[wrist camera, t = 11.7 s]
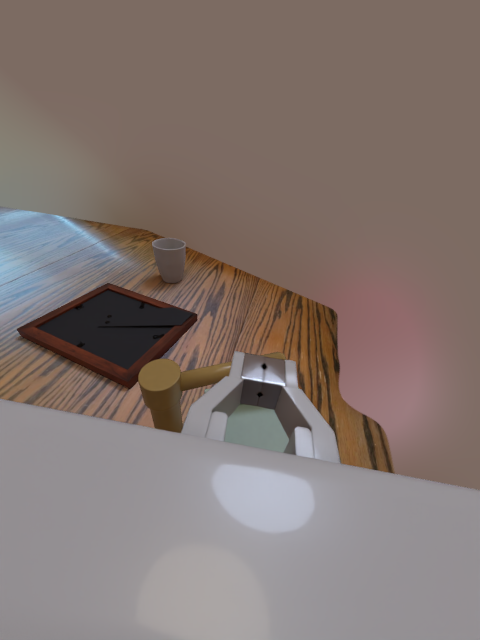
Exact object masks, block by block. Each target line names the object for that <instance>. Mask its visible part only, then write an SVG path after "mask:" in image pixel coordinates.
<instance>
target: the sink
mask: <svg viewBox="0 0 480 640" xmlns="http://www.w3.org/2000/svg"><path fill="white" fill-rule="evenodd" d="M298 389H299V388H298ZM209 390H210V389H205V393H206V392H207V391H209ZM225 442H229V443H234V444H240V445H245V446H250V447H255V448H261V449H266V450H271V451H277V452H282V453H283V452H284V450H285V448H286V446H287V444H288V442H289V438H288V436H287V434H286V432H285V431H284V429H283V427H282V425H281V423H280V421H279V419H278V417H277V415H276V413H275V411H274V410H273V409H268V408H263V407H258V406H252V405H246V404H240V405H239V406H238V407H237V408H236V409H235V411H234V412H233V413H232V414H231V415H230V416H229V418H228V419H227V427H226V435H225Z"/></svg>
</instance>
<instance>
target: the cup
mask: <svg viewBox="0 0 480 640" xmlns="http://www.w3.org/2000/svg"><path fill="white" fill-rule="evenodd" d="M152 245H153V250H154V255H155V260H156V263H157V266H158V270H159V272H160V274H161V277H162V279H163V280H164V281H165V282H167V283H177V282H179V281H181V279H182V275H183V272H184V265H185V242H183V241H182V240H179V239H174V238H162V239H158V240H155V241H154V242H153V243H152Z"/></svg>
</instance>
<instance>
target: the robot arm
mask: <svg viewBox="0 0 480 640" xmlns="http://www.w3.org/2000/svg"><path fill="white" fill-rule="evenodd" d="M244 355H245V356H244ZM240 404H246V405H252V406H258V407H263V408H268V409H273V410H274V411H275V413H276V415H277V417H278V419H279V421H280V423H281V425H282V427H283V429H284V431H285V432H286V434H287V436H288V438H289V442H288V444H287V446H286V448H285V450H284V452H283V453H282V452H277V451H271V450H266V449H261V448H255V447H250V446H245V445H240V444H234V443H229V442H225V435H226V427H227V419H228V418H229V416H230V415H231V414H232V413H233V412H234V411H235V409H236V408H237V407H238V406H239V405H240ZM0 640H480V490H477V489H471V488H466V487H461V486H455V485H449V484H445V483H439V482H434V481H429V480H424V479H418V478H413V477H408V476H403V475H398V474H392V473H387V472H382V471H377V470H371V469H366V468H361V467H356V466H350V465H345V464H341V463H340V458H339V453H338V448H337V443H336V438H335V433H334V431H333V430H332V429H331V427H330V426H329V425H328V423H327V422H326V421H325V420H324V418H323V417H322V416H321V414H320V413H319V412H318V411H317V409H316V408H315V407H314V405H313V404H312V403H311V401H310V400H309V399H308V398H307V396H306V395H305V394H304V392H303V391H302V390H301V389H298V382H297V371H296V362H295V361H290V360H283V359H277V358H271V357H265V356H259V355H254V354H248V353H242V352H237V351H235V352H234V355H233V360H232V364H231V369H230V373H229V377H228V376H225V377H224V378H223V379H222V380H221V381H219V382H218V383H217V384H216V385H215V386H213V387H212V388H211V389H210V390H209V391H207V392H206V393H205V394H204V395H203V396H201V397H200V398H199V399H198V400H197V401H196V402H194V403H193V404H192V405H191V406H190V409H189V412H188V414H187V417H186V420H185V423H184V426H183V428H182V431H181V433H176V432H171V431H166V430H161V429H155V428H150V427H145V426H140V425H134V424H129V423H124V422H119V421H113V420H108V419H103V418H98V417H93V416H87V415H82V414H77V413H72V412H66V411H61V410H56V409H51V408H45V407H40V406H35V405H30V404H24V403H19V402H14V401H9V400H3V399H0Z"/></svg>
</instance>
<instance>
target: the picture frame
mask: <svg viewBox="0 0 480 640" xmlns="http://www.w3.org/2000/svg"><path fill="white" fill-rule="evenodd" d="M196 321H197V314H196V313H193V312H190V311H187V310H184V309H181V308H178V307H176V306H173V305H170V304H167V303H164V302H161V301H158V300H156V299H153V298H150V297H147V296H144V295H141V294H138V293H136V292H133V291H130V290H127V289H124V288H121V287H118V286H116V285H113V284H110V283H107V284H105V285H103V286H101V287H99V288H97V289H95V290H93V291H91V292H89V293H87V294H85V295H83V296H81V297H79V298H77V299H75V300H73V301H71V302H69V303H67V304H65V305H63V306H61V307H59V308H58V309H56V310H54V311H52V312H50V313H48V314H46V315H44V316H42V317H40V318H38V319H36V320H34V321H32V322H30V323H28V324H26V325H24V326H22V327H20V328H18V329H17V331H18V332H19V334H20V335H21V336H22V337H24V338H26V339H28V340H30V341H32V342H34V343H36V344H38V345H40V346H42V347H45V348H47V349H49V350H51V351H53V352H55V353H57V354H59V355H61V356H63V357H65V358H67V359H69V360H71V361H74V362H76V363H78V364H80V365H82V366H84V367H86V368H88V369H90V370H92V371H94V372H96V373H98V374H100V375H103V376H105V377H107V378H109V379H111V380H113V381H115V382H117V383H119V384H121V385H123V386H125V387H127V388H129V389H130V388H131V387H132V386H133V385H134V384H135V383H136V382H137V381H138V375H139V372H140V371H141V369H142V368H143V367H144V366H145V365H146V364H147V363H149V362H151V361H153V360H157V359H160V358H161V357H162V356H163V355H164V354H165V353H166V352H167V351H168V350H169V349H170V348H171V347H172V345H173V344H174V343H175V342H176V341H177V340H178V339H179V338H180V337H181V336H182V335H183V334H184V333H185V332H186V331H187V330H188V329H189V328H190V327H191V326H192V325H193V324H194V323H195V322H196Z"/></svg>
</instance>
